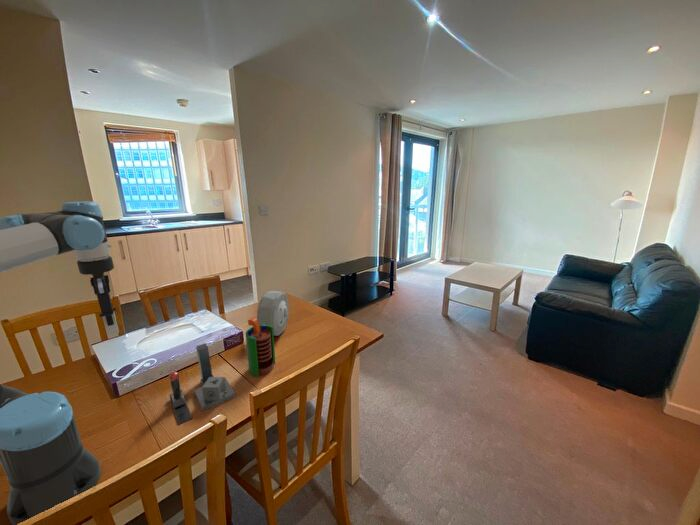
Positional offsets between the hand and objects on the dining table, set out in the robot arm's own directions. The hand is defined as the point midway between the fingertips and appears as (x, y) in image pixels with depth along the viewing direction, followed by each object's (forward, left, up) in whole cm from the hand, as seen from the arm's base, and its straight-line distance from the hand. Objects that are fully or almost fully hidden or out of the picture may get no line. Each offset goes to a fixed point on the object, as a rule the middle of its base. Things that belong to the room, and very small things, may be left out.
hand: (113, 333), depth 89 cm
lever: (+12, -12, -24) cm, 30 cm away
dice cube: (+22, -17, -23) cm, 36 cm away
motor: (+40, -11, -25) cm, 48 cm away
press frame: (+19, -13, -24) cm, 33 cm away
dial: (+56, +10, -25) cm, 62 cm away
